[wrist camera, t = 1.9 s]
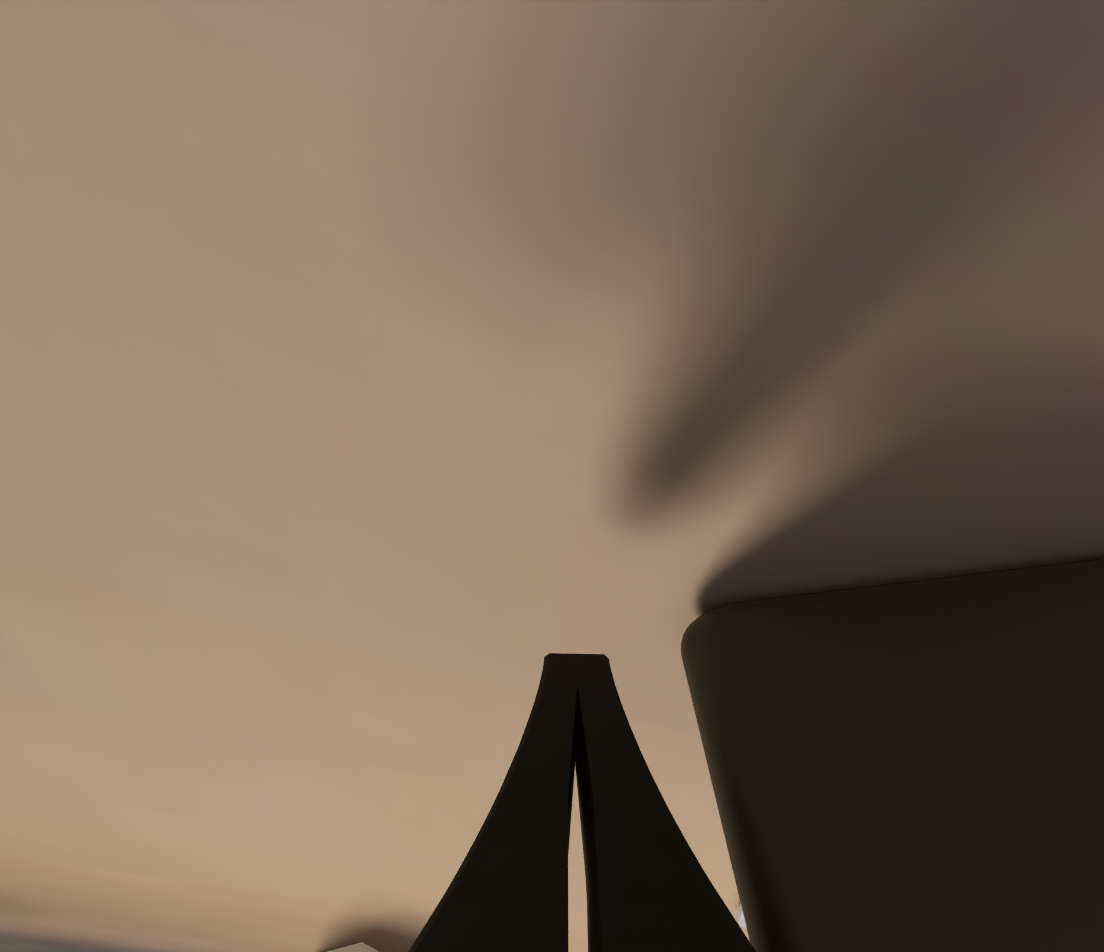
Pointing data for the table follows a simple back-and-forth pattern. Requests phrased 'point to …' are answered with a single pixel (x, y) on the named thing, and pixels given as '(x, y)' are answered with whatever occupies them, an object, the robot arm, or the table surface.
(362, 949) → the white wedge bracket
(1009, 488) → the table surface
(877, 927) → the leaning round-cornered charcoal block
